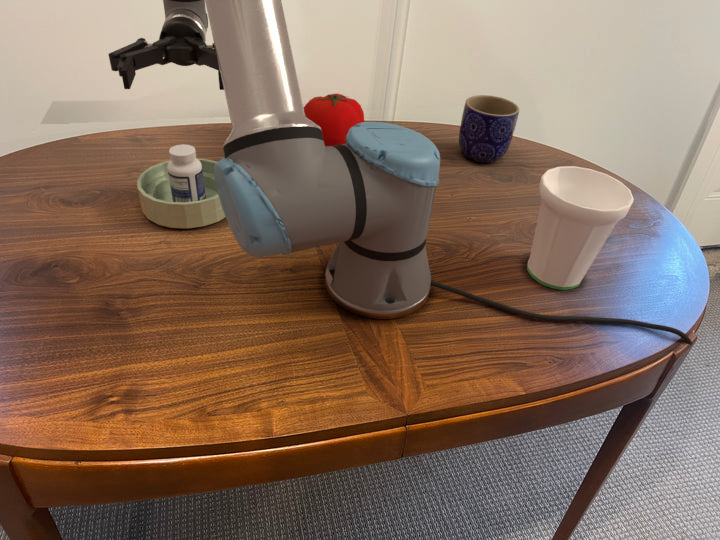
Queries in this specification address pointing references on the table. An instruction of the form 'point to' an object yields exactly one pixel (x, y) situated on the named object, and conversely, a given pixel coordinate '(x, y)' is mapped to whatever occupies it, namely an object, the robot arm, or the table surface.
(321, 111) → the tomato
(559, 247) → the cup
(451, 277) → the table surface
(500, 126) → the planter
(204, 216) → the bowl
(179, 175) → the pill bottle
